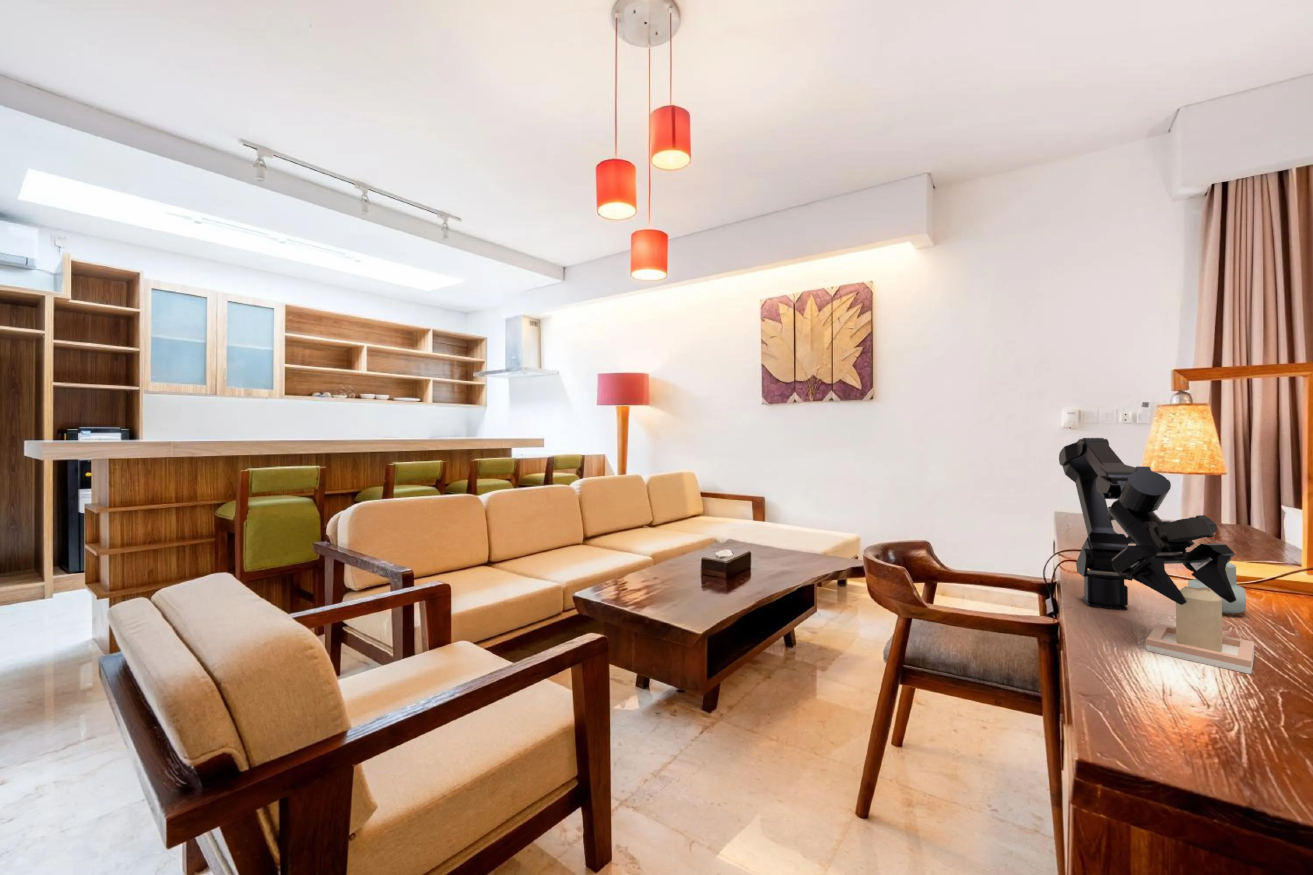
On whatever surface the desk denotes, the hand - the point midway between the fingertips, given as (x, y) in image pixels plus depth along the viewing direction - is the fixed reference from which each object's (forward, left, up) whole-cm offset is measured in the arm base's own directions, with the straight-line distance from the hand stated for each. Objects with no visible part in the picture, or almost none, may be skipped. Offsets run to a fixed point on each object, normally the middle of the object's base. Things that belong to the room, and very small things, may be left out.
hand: (1208, 602), depth 89 cm
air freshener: (+12, +32, -9) cm, 36 cm away
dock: (-1, +1, -9) cm, 9 cm away
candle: (-1, +1, -8) cm, 8 cm away
